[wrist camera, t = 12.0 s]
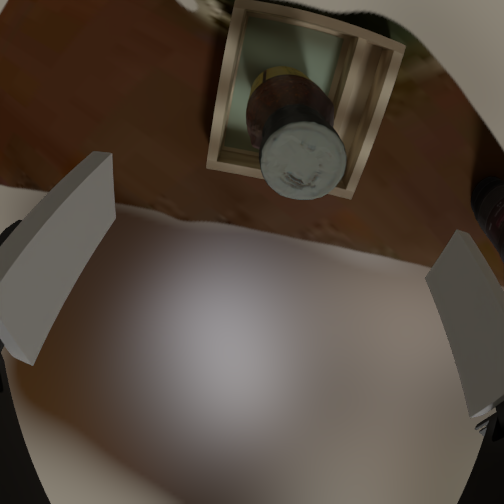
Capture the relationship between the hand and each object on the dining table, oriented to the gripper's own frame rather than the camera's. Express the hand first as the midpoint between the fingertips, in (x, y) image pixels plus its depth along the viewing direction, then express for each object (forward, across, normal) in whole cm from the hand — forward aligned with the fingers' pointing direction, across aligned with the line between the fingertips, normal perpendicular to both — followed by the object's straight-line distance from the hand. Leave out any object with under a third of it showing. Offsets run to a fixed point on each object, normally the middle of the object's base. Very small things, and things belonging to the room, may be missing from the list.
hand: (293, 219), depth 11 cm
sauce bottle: (+24, 0, 0) cm, 24 cm away
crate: (+24, +2, 0) cm, 25 cm away
